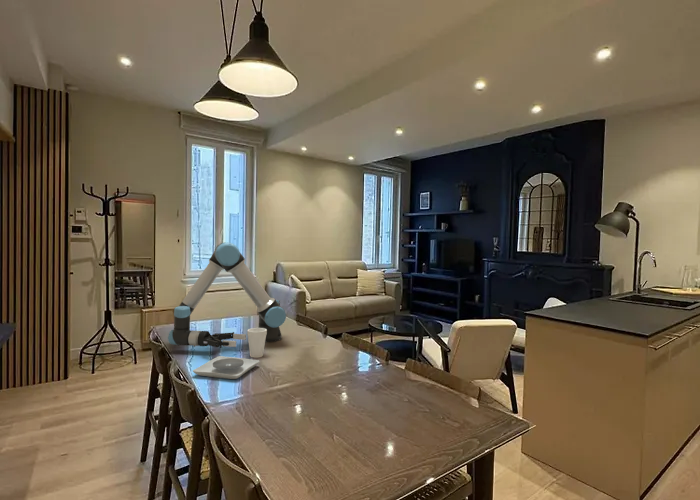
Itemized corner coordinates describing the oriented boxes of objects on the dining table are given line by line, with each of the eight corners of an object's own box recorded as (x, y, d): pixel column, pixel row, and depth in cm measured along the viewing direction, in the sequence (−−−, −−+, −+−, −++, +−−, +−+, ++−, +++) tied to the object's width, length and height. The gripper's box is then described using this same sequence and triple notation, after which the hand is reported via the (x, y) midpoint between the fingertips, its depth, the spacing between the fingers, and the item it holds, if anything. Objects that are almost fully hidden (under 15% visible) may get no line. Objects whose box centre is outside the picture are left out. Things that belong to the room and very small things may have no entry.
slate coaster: (239, 358, 177) (239, 357, 177) (247, 366, 166) (247, 364, 166) (209, 362, 170) (209, 360, 170) (216, 370, 159) (216, 368, 159)
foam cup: (268, 353, 196) (269, 328, 196) (262, 359, 187) (263, 332, 187) (250, 352, 197) (251, 327, 197) (244, 357, 188) (244, 331, 188)
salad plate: (237, 383, 156) (238, 375, 155) (191, 378, 160) (191, 370, 160) (260, 367, 176) (260, 359, 176) (218, 362, 181) (218, 355, 180)
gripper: (210, 339, 206) (249, 341, 205) (187, 352, 181) (231, 355, 180) (211, 325, 206) (249, 327, 205) (188, 337, 181) (231, 339, 180)
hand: (241, 340), depth 192 cm, fingers open, 13 cm apart
